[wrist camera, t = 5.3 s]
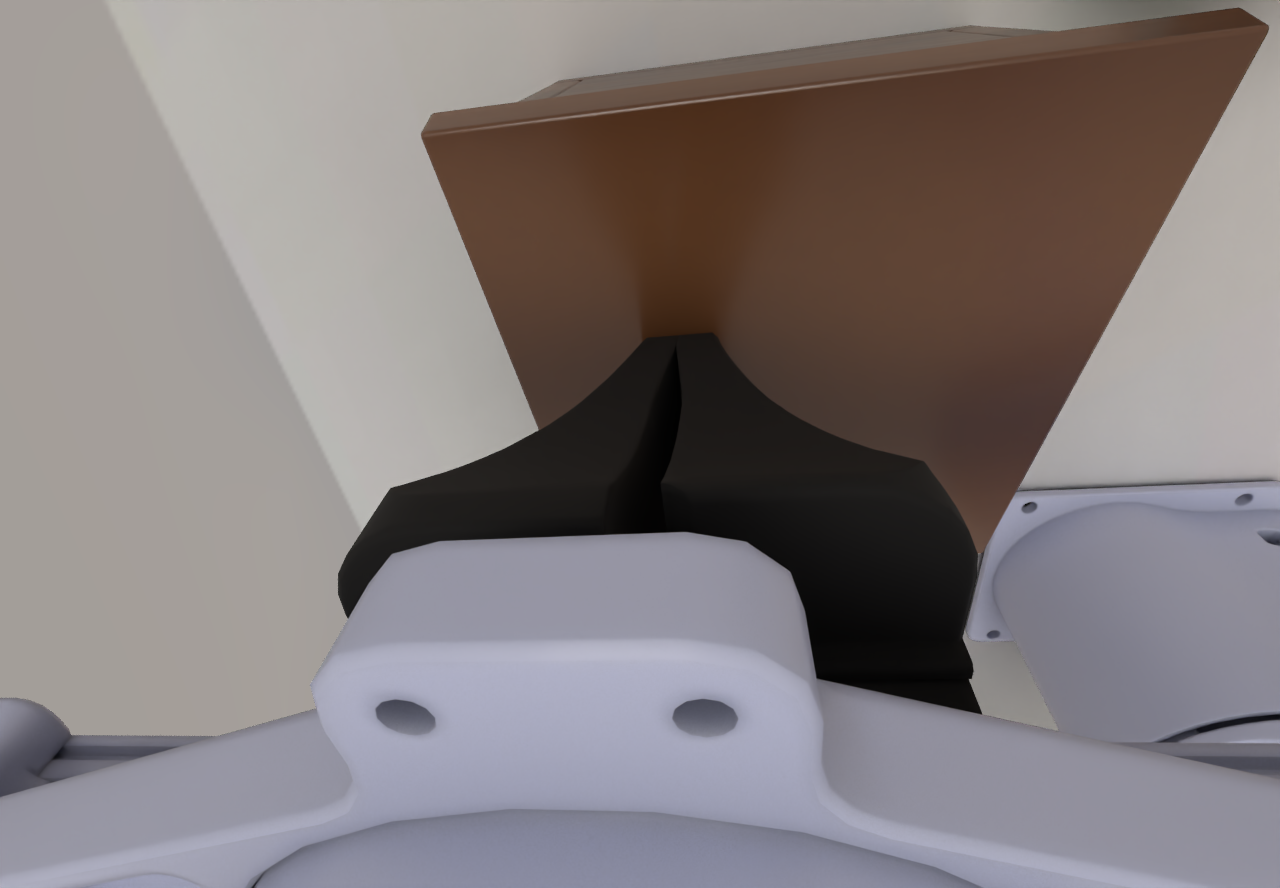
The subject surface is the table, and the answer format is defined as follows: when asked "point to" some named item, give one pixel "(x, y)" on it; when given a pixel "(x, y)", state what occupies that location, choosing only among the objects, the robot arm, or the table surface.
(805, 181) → the lid
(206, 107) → the table surface
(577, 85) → the box
